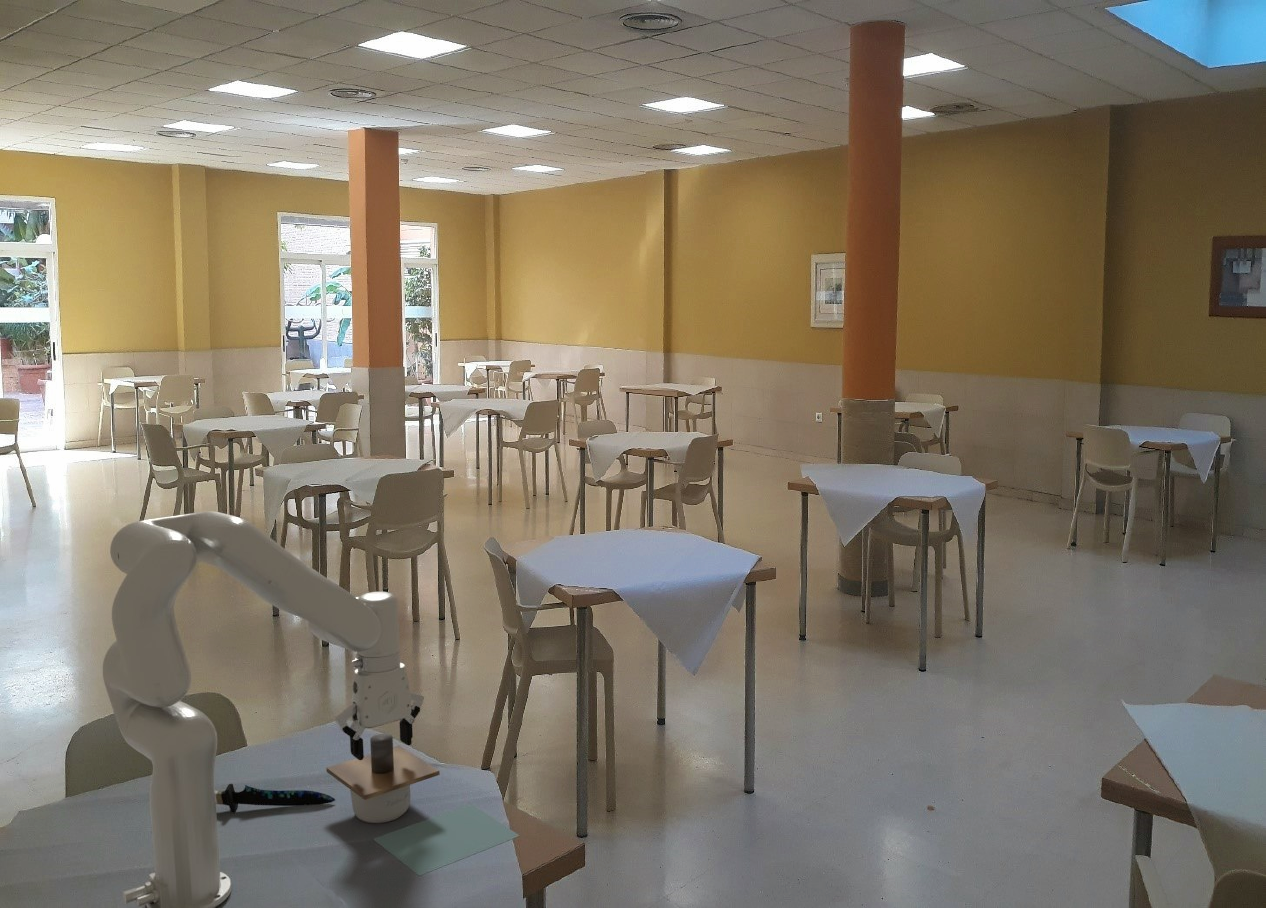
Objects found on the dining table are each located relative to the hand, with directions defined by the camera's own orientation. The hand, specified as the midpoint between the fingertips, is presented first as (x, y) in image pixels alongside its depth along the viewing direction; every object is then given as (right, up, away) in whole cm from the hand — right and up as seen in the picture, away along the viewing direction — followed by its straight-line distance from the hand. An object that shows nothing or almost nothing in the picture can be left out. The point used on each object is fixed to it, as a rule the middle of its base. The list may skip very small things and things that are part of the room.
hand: (382, 750), depth 197 cm
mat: (+13, -14, -9) cm, 21 cm away
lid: (0, -4, 0) cm, 4 cm away
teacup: (0, -12, +2) cm, 13 cm away
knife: (-25, -12, +4) cm, 28 cm away
